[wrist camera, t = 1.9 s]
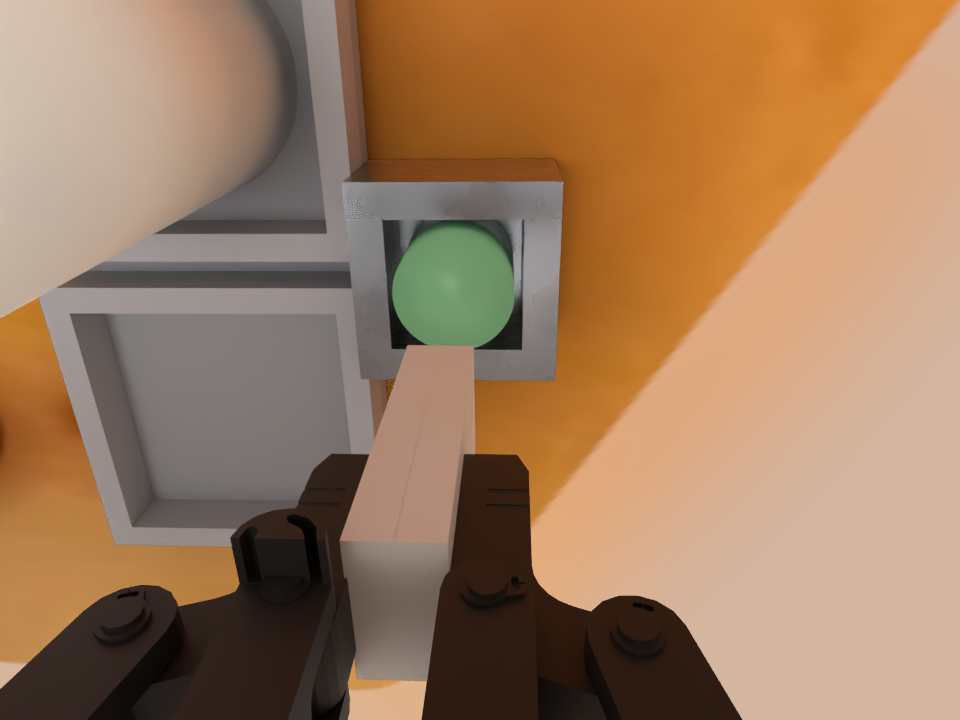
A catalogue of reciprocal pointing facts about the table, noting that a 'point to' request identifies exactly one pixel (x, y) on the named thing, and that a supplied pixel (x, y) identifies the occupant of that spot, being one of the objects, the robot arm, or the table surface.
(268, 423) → the grey compartment tray
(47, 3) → the billet
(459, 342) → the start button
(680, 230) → the table surface
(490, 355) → the grey square open box
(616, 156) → the table surface
